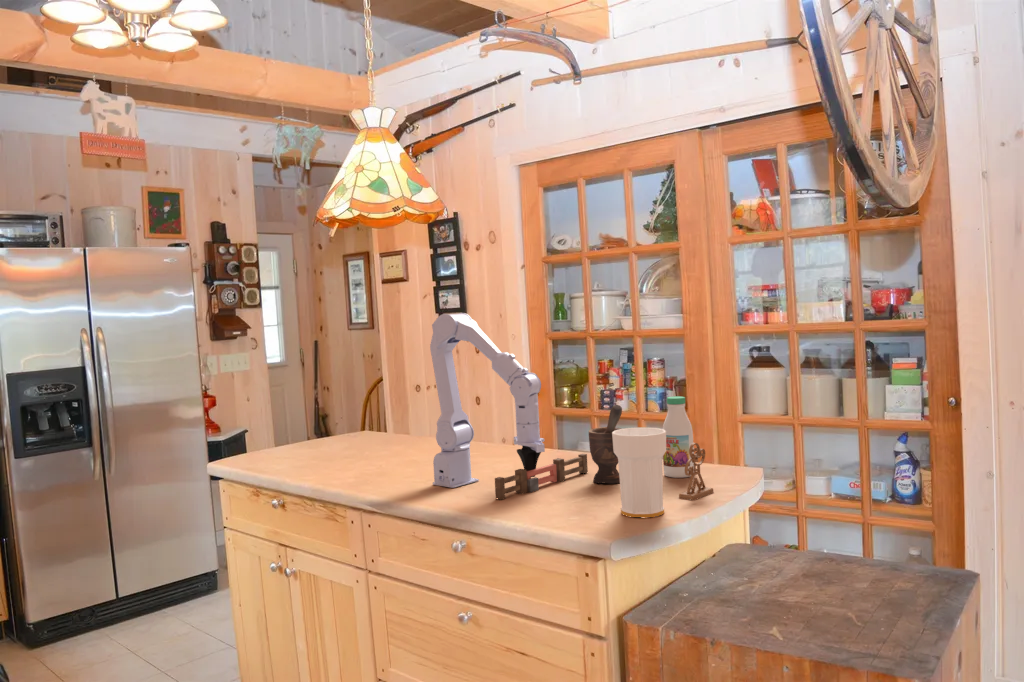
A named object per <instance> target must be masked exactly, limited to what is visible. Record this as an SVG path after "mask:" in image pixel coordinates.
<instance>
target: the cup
mask: <svg viewBox="0 0 1024 682" xmlns="http://www.w3.org/2000/svg"><path fill="white" fill-rule="evenodd" d="M612 439H613V451H614V453H615V455H616V456H617V457H618V464H617V465H618V472H619V477H620V483H619V487H620V489H619V490H620V501H621V508H620V514H621V515H622V514H624V515H627V516H631V517H653V518H655V517H654V516H658V517H660V516H659V515H661V516H663V515H664V514H665V507H664V496H663V495H664V494H663V493H664V490H663V489H664V488H663V487H664V486H663V485H664V484H663V483H664V482H663V480H664V479H663V455H664V453H665V452H666V431H665V430H664V429H663V428H659V427H648V426H647V427H643V426H642V427H641V426H639V427H626V428H621V429H619V430H615V431H613V432H612ZM663 513H664V514H663ZM662 514H663V515H662ZM624 515H623V516H624ZM627 516H626V517H627ZM631 517H630V518H631Z"/></svg>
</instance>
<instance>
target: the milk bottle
mask: <svg viewBox="0 0 1024 682" xmlns="http://www.w3.org/2000/svg"><path fill="white" fill-rule="evenodd" d="M666 407H667V414H666V417H665V420H664V422H663V425H662V429H664V430H665V431H666V452H665V453H664V455H663V456H662V466H663V474H664V476H666V477H668V478H675V479H677V478H679V479H682V478H691V475H690V476H688V475H685V465H686V463H687V461H688V460H689V459H691V457H690V454H689V449H690V446H691V444H692V443H694V431H693V425H692V423H691V421H690V419H689V417H688V415H687V411H686V408H685V407H686V397H685V396H668V397H666ZM694 446H695V445H694ZM694 446H693V449H694V448H695V447H694ZM692 453H693V454H695V452H692ZM693 464H694V463H692V461H691V462H690V463H689V465H688V469H689V467H690V466H693V467H694V465H693ZM688 472H689V471H688Z"/></svg>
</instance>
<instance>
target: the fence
mask: <svg viewBox="0 0 1024 682" xmlns="http://www.w3.org/2000/svg"><path fill="white" fill-rule="evenodd" d="M552 462H553V463H552V464H556V471H557V482H558V481H561V482H564V481H563V480H565V481H566V476H568V475H572V474H575V473H586V474H588V473H589V472H588V471H589V470H588V469H589V468H588V454H587V453H580V454H578V456H577V457H574V458H570V459H567V460H565V458H561V457H560V458H559V457H557V458H554V459H552ZM576 463H578V466H576V467H572V468H569V469H565V467H566V466H570V465H572V464H576ZM587 472H588V473H587ZM538 478H539V477H536V476H535V477H531V479H528V480H527V471H526V469H524V468H518V469H515V470H514V474H513V475H510V476H508V477H507V476H506V477H503V476H498V477H495V478H494V489H495V490H494V492H495V499H496V498H498V499H503V498H505V499H506V495H507V494H510V493H513V492H515V493H516V492H517V493H516V494H521V493H523V494H526V493H533V491H534V492H537V491H539V489H540V487H539V486H540V485H539V484H538ZM514 481H515V482H514ZM510 482H514V483H515V485H512V486H509V487H506V485H505V484H508V483H510ZM536 490H537V491H536ZM525 492H526V493H525ZM503 500H504V499H503Z"/></svg>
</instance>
